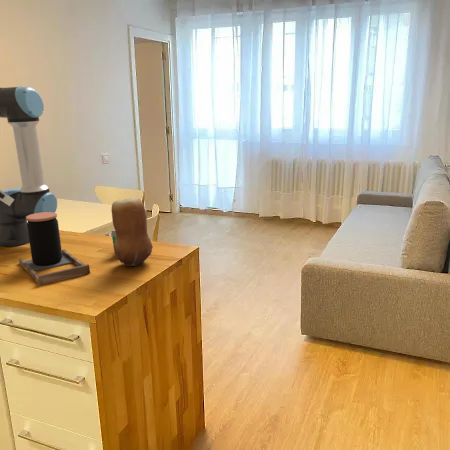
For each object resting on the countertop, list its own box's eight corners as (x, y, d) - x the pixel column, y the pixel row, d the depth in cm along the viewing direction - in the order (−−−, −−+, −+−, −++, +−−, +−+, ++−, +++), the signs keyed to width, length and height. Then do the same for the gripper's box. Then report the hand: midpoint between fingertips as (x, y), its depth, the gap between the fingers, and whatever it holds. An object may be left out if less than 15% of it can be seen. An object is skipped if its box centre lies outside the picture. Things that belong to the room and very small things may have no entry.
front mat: (23, 262, 169) (23, 261, 169) (62, 254, 178) (61, 253, 177) (32, 272, 159) (32, 270, 159) (72, 262, 167) (72, 261, 167)
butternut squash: (124, 258, 172) (119, 194, 165) (158, 259, 169) (153, 194, 163) (109, 270, 158) (102, 202, 152) (145, 272, 156) (140, 203, 149)
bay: (19, 263, 169) (18, 255, 168) (64, 253, 179) (63, 246, 178) (40, 285, 147) (38, 276, 146) (90, 273, 157) (89, 265, 156)
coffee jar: (68, 258, 171) (63, 212, 167) (50, 267, 161) (43, 219, 157) (45, 256, 175) (39, 211, 170) (26, 265, 165) (19, 218, 160)
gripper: (-64, 166, 151) (-8, 202, 164) (-54, 174, 132) (8, 214, 145) (-49, 149, 152) (5, 186, 165) (-37, 154, 133) (23, 196, 146)
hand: (7, 199), depth 155 cm, fingers open, 13 cm apart
